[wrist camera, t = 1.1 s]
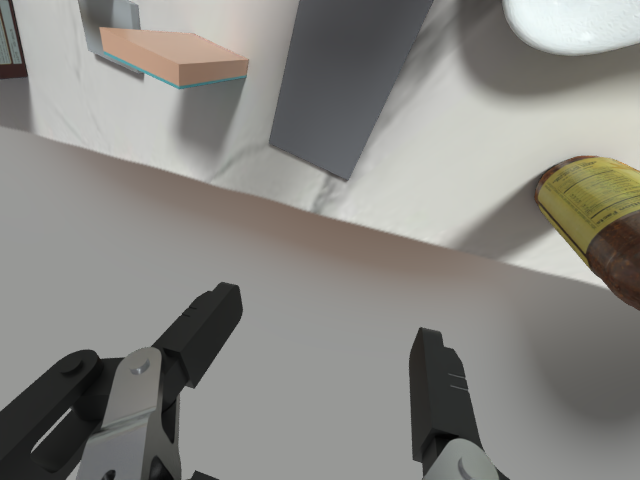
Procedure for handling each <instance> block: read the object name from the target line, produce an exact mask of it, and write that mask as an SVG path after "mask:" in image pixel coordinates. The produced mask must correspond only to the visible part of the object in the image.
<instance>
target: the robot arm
mask: <svg viewBox="0 0 640 480" xmlns="http://www.w3.org/2000/svg"><path fill="white" fill-rule="evenodd" d="M242 312H243V307H242V301H241V295H240V289H239V286H238V285H234V284H229V283H225V282H221V283H220V284H218V285H217V287H216V288H215V289H214V290H213V291H207V292H205V293H204V294H202V295H201V296H199V297H197V298H196V299H195V300H194V301H193V302H192V303H191V305H190V306H189V308H187V309H186V310H185V311H184V312H183V313H182V315H181V316H179V317H178V319H177V320H176V321H175V322H174V323H173V324H172V325H171V326H170V327H169V328H168V329H167V330H166V331H165V332H164V333H163V335H161V337H160V338H159V339H158V340H157V341H156V342H155V343H154V344H153V345H152V346H151V347H145V348H141V349H138V350H136V351H134V352H132V353H131V354H129V355H128V356H127V357H124V358H107V359H100V358H99V356H98V355H97V353H96V352H95V351H93V350H80V351H77V352H74V353H71V354H69V355H67V356H65V357H64V358H62V359H61V360H59V361H58V362H57V363H56V364H54V365H53V366H52V367H51V368H50V369H49V370H47V371H46V372H45V373H44V374H43V375H42V376H41V377H39V378H38V379H37V380H36V381H35V382H34V383H33V384H31V385H30V386H29V387H28V388H27V389H26V390H25V391H23V392H22V393H21V394H20V395H19V396H18V397H16V398H15V399H14V400H13V401H12V402H11V403H10V404H9V405H8V406H6V407H5V408H4V409H3V410H2V411H0V480H66V478H67V477H68V476H69V475H70V473H71V472H72V471H73V469H74V468H75V467H76V465H77V464H78V463H79V462H80V460H81V463H80V467H79V470H78V473H77V477H76V480H181V461H180V455H179V448H178V440H179V439H178V438H179V412H180V394H179V393H180V392H181V390H182V389H183V388H184V386H188V387H191V388H195V387H196V386H197V384H198V383H199V381H200V380H201V378H202V377H203V375H204V374H205V372H206V371H207V369H208V368H209V366H210V365H211V363H212V362H213V360H214V359H215V357H216V356H217V354H218V353H219V351H220V350H221V348H222V347H223V345H224V344H225V342H226V341H227V339H228V338H229V336H230V335H231V333H232V332H233V330H234V329H235V327H236V325H237V324H238V322H239V321H240V319H241V316H242ZM409 359H410V360H409V377H410V401H411V426H412V454H413V460H415V461H418V462H421V463H422V465H423V478H422V480H510V479H509V478H507V477H506V476H505V475H503V474H502V473H501V472H500V471H499V470H498V469H497V468H496V467H495V466H494V465H493V463H492V462H491V460H490V458H489V457H488V456H487V455H486V453H485V451H484V449H483V447H482V444H481V441H480V438H479V434H478V429H477V425H476V421H475V416H474V412H473V407H472V403H471V399H470V394H469V392H468V386H467V381H466V380H465V373H464V368H463V364H462V362H461V360H460V358H459V357H458V355H457V354H456V353H455V351H454V349H451V348H447V347H444V345H443V339H442V334H441V332H439V331H435V330H431V329H426V328H422V327H421V328H419V330H418V333H417V336H416V338H415V341H414V343H413V346H412V349H411V352H410V358H409ZM69 408H71V409H72V410H71V411H70V412H69V414H68V415H67V416H66V417H65V418H64V419H63V420H62V421H61V422H60V423H59V424H58V425H57V426H56V428H54V430H53V431H52V432H51V433H50V434H49V435H48V436H47V437H46V438H45V439H44V440H43V441H42V442H41V443H40V444H39V446H38V447H37V448H36V449H35V450H34V451H33V452H32V453H31V450H32V449H33V447H34V445H35V444H36V443H37V442H38V440H39V439H40V438H41V437H42V436H43V435H44V434H45V433H46V432H47V431H48V430H49V429H50V428H51V427H52V426H53V425H54V424H55V422H56V421H57V420H58V419H59V418H60V417H61V416H62V415H63V414H64V413H65V412H66V411H67V410H68V409H69ZM188 480H219V479H216V478H213V477H211V476H208V475H206V474H203V473H201V472H198V471H196V470H195V472H194V474H193V476H192V478H191V479H188Z"/></svg>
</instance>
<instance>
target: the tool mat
mask: <svg viewBox="0 0 640 480" xmlns="http://www.w3.org/2000/svg"><path fill="white" fill-rule="evenodd" d="M432 3H433V0H300V1H299V6H298V11H297V15H296V20H295V24H294V29H293V34H292V38H291V43H290V47H289V52H288V57H287V61H286V66H285V71H284V75H283V80H282V84H281V89H280V94H279V98H278V103H277V107H276V112H275V117H274V121H273V126H272V131H271V135H270V140H269V143H270V144H272V145H274V146H276V147H278V148H280V149H282V150H284V151H287V152H289V153H291V154H293V155H295V156H297V157H299V158H302V159H304V160H306V161H308V162H310V163H312V164H314V165H316V166H319V167H321V168H323V169H325V170H327V171H329V172H331V173H334V174H336V175H338V176H340V177H342V178H344V179H346V180H349V178H350V176H351V174H352V172H353V170H354V168H355V166H356V163H357V161H358V159H359V157H360V155H361V153H362V151H363V149H364V146H365V144H366V142H367V140H368V138H369V136H370V134H371V132H372V130H373V127H374V125H375V123H376V121H377V119H378V117H379V115H380V113H381V110H382V108H383V106H384V104H385V102H386V100H387V98H388V96H389V94H390V91H391V89H392V87H393V85H394V83H395V81H396V79H397V77H398V75H399V72H400V70H401V68H402V66H403V64H404V62H405V60H406V58H407V55H408V53H409V51H410V49H411V47H412V45H413V43H414V41H415V39H416V36H417V34H418V32H419V30H420V28H421V26H422V24H423V22H424V19H425V17H426V15H427V13H428V11H429V9H430V7H431V5H432Z"/></svg>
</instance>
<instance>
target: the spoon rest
mask: <svg viewBox="0 0 640 480" xmlns="http://www.w3.org/2000/svg"><path fill="white" fill-rule="evenodd" d="M502 6H503V11H504V15H505V18H506V20H507V22H508V24H509V26H510V28H511V29H512V31H513V32H514V33H515V34H516V36H517V37H518V38H519V39H521V40H522V41H523V42H525V43H526V44H528V45H529V46H531V47H533V48H535V49H537V50H540V51H543V52H547V53H550V54H556V55H563V56H582V55H591V54H597V53H602V52H607V51H612V50H616V49H620V48H624V47H627V46H631V45H634V44H638V43H640V0H502Z"/></svg>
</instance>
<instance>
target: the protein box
mask: <svg viewBox="0 0 640 480" xmlns="http://www.w3.org/2000/svg"><path fill="white" fill-rule="evenodd" d="M22 77H27V71H26V66H25V62H24V57H23V53H22V49H21V44H20V40H19V35H18V30H17V26H16V21H15V17H14V12H13V8H12V3H11V0H0V79H9V78H22Z"/></svg>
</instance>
